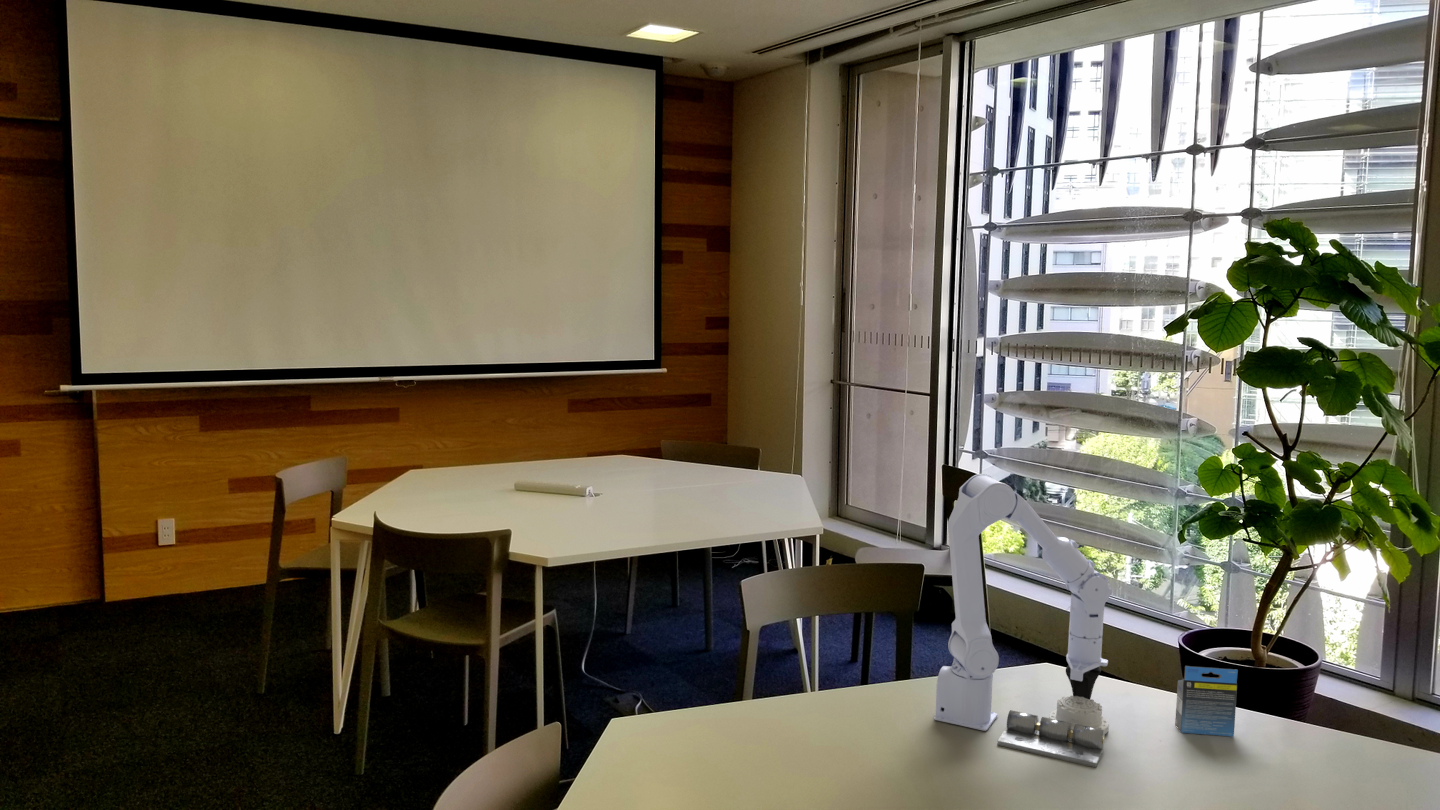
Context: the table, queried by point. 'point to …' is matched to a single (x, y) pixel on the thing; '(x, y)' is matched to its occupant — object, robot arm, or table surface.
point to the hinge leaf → (1053, 738)
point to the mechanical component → (1080, 712)
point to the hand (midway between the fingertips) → (1081, 706)
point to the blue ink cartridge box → (1207, 701)
